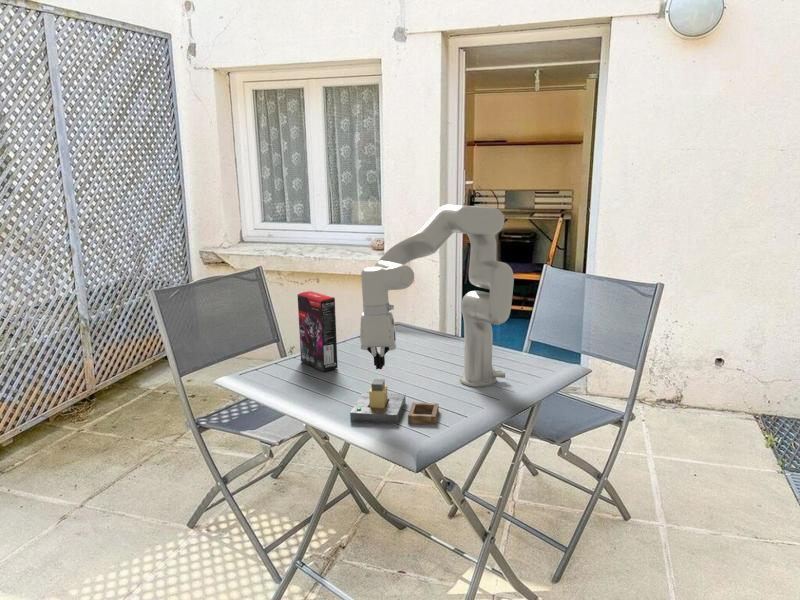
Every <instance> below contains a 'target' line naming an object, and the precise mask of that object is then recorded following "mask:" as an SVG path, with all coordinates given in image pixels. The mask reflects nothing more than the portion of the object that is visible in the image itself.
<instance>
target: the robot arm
mask: <svg viewBox="0 0 800 600" xmlns="http://www.w3.org/2000/svg"><path fill="white" fill-rule="evenodd" d="M504 224H505V217H504V214H503V213H502V211H501V210H500V209H499V208H497V207H489V206H488V207H487V206H480V205H479V206H476V205H465V204H464V205H463V204H451V203H450V204H444V205H442V206H440V207H439V208H437V209H436V211H435V212H434V213H432V215H431V216H430V217H429V218H428V219H427V220H426V221H425V223H424V224H423V225H422V226H421V227H420V228H419V229H418V230H417V231H416V232H415V233H414V234H412V235H410V236H409V237H407V238H404V239H403V240H402V241H399V242H398V243H395V244H394V245H393V246H391V247H390V248H389V249H388V250H386V251H385V253H384V254H382V256H381V257H380V258H379V259H378V260H377V262H376V263H375V264H374V266H369V267H365V268H363V269H362V270H361V274H360V278H361V293H362V305H363V306H362V309H363V310H362V311H363V312H362V313H361V316H360V330H359V331H360V332H359V333H360V334H359V335H360V339H359V340H360V350H363V351H367V352H369V353H370V354H371V356H372V357H373V364H374V365H373V366H375V370H383V367H384V366H385V364H386V360H385V358H386V357H385V355H386V354H387V353H388V352H390V351H395V350H396V348H397V344H396V339H397V337H396V334H397V333H396V327H395V326H396V325H395V320H394V316H393V313H392V310H394V309H395V307H394V304H393V305H392V304H391V303H390V302H389V291H399V290H406V289H408V288H409V287H411V286H412V284H414V281H415V272H414V271H413V269H412V268H411V267H410V266H408V265H406V264H407V263H409V262H411V261H413V260H417V259H421V258H425V257H428V256H429V257H430V256H431V255H434V254H435V253H437V252H438V250H439V249H440V248H441V247H442V246H443V245H444V244H445V242H446V241H447V240H448V239H449V238H450V237H451V236H452V235H453V234H455V233H456V234H465V235H467V237H468V239H469V243H470V255H469V264H468V265H469V266H468V281H469V283H470V284H471V285H473V286H475V287H477V288H482V289H486V290H489V292H486V291H481V290H470V291H468V292H467V293H465V295H464V296H463V297H462V299H461V300H462V301H461V303H460V304H461V305H460V307H461V314H462V317H463V329H464V330H463V332H464V333H463V335H464V337H463V338H464V339H463V343H464V345H463V349H464V350H463V351H464V355H463V357H464V358H463V361H464V363H463V366H464V367H463V371H464V372H463V373H462V374H460V376H459V381H460V383H462V384H464V385H466V386H470V387H478V388H479V387H480V388H483V387H489V386H492V385H494V384H495V383H497V378H503V379H505V378H506V372H505V371H503V370H501V369H499V370H497V369H494V366H493V336H494V335H493V327H492V325H497V326H498V325H502V324H505V322H506V321H507V320H508V319H509V318H510V315H511V310H512V302H513V296H514V294H513V293H514V292H513V291H514V286H515V285H514V284H515V283H514V281H515V276H514V272H513V269H512V267H511V266H510V265H509V264H508V263H506V262H503V261H498V260H497V246H498V245H497V240H496V236H495V235H496V234H498V233H500V232H501V230H502V229H503V227H504ZM378 348H380V350H378Z"/></svg>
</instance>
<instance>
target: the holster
mask: <svg viewBox="0 0 800 600" xmlns="http://www.w3.org/2000/svg"><path fill="white" fill-rule="evenodd" d="M439 409H440V408H439V403H435V402H434V403H433V402H411V406H410V408H409V411H408V414H407V423H408V424H415V425H432V426H433V425H436V423H437V420H438V415H439ZM417 413H418V414H417ZM420 413H421V414H420ZM422 413H423V414H422ZM424 413H431V414H424Z"/></svg>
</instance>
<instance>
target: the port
mask: <svg viewBox="0 0 800 600" xmlns="http://www.w3.org/2000/svg"><path fill="white" fill-rule="evenodd" d="M387 397H388V404H387V406H386V408H370V402H369V392H365V391H364V392H363V391H362V392H361V394H360V396H359V397H358V399H357V401H356V402H355V404H354V405H353V407H352V409H351V411H350V412H349V417H350V418H349V419H350V420H349V421H350V423H355V424H356V423H358V424H360V423H361V424H362V423H363V424H379V425H398V423H399V421H400V418H401V416H402V413H403V410H404V409H405V405H406V403H407V402H406V399H407V398H406V393H392V392H391V393H389V392H387Z"/></svg>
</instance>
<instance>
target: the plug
mask: <svg viewBox="0 0 800 600" xmlns="http://www.w3.org/2000/svg"><path fill="white" fill-rule="evenodd" d="M385 383H386V381H385V379H384V378H383V379H382V378H374V379H373V381H372V383H371V384H370V385H371V387H370V389H369V392H368V393H369V402H370V408H386V406H387V404H388V397H387V393H388V384H385Z"/></svg>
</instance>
